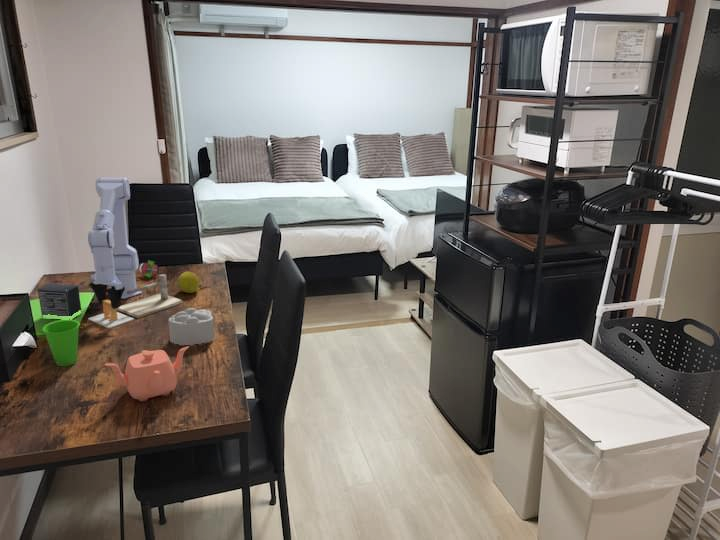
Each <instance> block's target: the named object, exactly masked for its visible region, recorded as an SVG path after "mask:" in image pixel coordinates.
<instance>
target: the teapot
mask: <svg viewBox="0 0 720 540" xmlns="http://www.w3.org/2000/svg"><path fill="white" fill-rule="evenodd" d="M189 348H190V346H184V347H182V348H180V349H179V350H178V352H177V355H176V359H175V361H174V362H172V361H171V359H170V357H169V355H168V354H167V352H166V351H165V350H164V349H157V350H146V349H144V350H142V351H141V352H140V353H136V354H133V355H130V356H129V357H128V359H127V361H126V362H127V363H126V366H125V370H124V373H123V372H122V371H121V370H120V367H119V365H118V364H116V363H112V362H109V363H108V362H107V363H104V366H106V367H109V368H110V369H112V370H113V373H114V375H115V379H116V380H117V382H118V384H119V385H121V386H122V387H125V388H126V390H127V392H128V394H129V395H130V396H131V398H132V399H134V400H138V401H139V402H146V401H148V400H149V398H155V397H158V396H162V397H163V396H164V397H165V396H168V395H170V394H171V392H172V391H174V390H175V389H176V386H177V384H178V378H177V375H178V374H179V373H180V372H181V370H182V368H183V360H184V359H183V358H184V357H183V356H184V353H185V352H186V350H188V349H189Z"/></svg>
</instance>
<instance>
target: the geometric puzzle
mask: <svg viewBox="0 0 720 540" xmlns="http://www.w3.org/2000/svg"><path fill="white" fill-rule="evenodd" d="M158 266H159V265H158V264H157V263H155V261H153V260H149V259H148V260H147V261H145V262H142V263H139V266H138V271H139V272H140V273H141V274H142V275H144V277H146V278H150V279H151V278H152V277H154V276H155V275H157V273H158V270H159V269H158Z"/></svg>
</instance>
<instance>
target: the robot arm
mask: <svg viewBox="0 0 720 540" xmlns="http://www.w3.org/2000/svg"><path fill="white" fill-rule="evenodd" d="M95 190H96V194H97V195H98V197H99V198H100V202H99V203H100V206H99V211H97V212H95V215H94V219H93V220H94V221H93V224H92V225H93V226H92V229H91V230H90V231H89V232H88V236H87V241H88V247H89V248H90V252H91V254H92V257H93V265H94V273H93V274H90V280H91V282H90V283H89V285H88V286H89V287H90V288H91V289H92V291H93V292H94V294H95V296H96V298H97V301H98V304H103V303H102V301H103V300H106V299H107V295H108V297H109V300H110V301H111V305H112V308H113V309H116V310H117V308H119V307H120V306H121V301H122V299H127V298H131V297H134V296H137V295H140V294H143V292H142V290H141V291H138V292H135V293H132V294H127V291H129V290H133V289H136V288H138V287H137V280H136V279H137V278H136V271H137V270H139V267H140V263H139V256H138V251H137V249H136V248H134V247H133V246H131V245H130V244H129V239H128V237H129V236H128V227H127V214H126V201H128V200H130V199H131V189H130V181H129V179H128V178H127V177H124V176H123V177H101V176H98V177H97V178H96V179H95ZM108 286H109V287H110V288H107V287H108Z"/></svg>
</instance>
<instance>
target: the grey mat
mask: <svg viewBox="0 0 720 540" xmlns="http://www.w3.org/2000/svg"><path fill="white" fill-rule="evenodd" d="M110 314H111V313H110ZM117 318H118V320H115V321H112V320H110V318H109V319H107V318H104V312H103V313H100V314H97V315H94V316H91V317H88V318H87V320H88V321H91V322H92V323H95V324H98V325H99V326H102V327H104V328H106V329H112V328H115V327H117V326H121V325H123V324H127V323H130V322H132V321H135V317H130V315H125V313H124V314H123V313H121V312H120V311H117Z"/></svg>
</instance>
